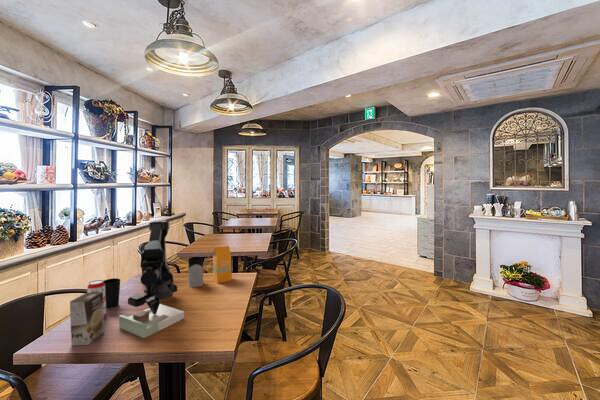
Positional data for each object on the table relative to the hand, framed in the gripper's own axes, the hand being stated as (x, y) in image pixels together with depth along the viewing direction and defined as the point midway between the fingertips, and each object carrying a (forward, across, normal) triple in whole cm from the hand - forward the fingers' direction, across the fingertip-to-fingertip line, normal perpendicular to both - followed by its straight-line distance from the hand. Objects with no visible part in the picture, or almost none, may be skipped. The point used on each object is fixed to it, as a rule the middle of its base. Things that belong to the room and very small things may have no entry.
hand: (154, 314), depth 120 cm
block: (0, -6, 0) cm, 6 cm away
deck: (+3, -1, 0) cm, 3 cm away
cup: (+4, 0, +32) cm, 32 cm away
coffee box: (+4, -20, +10) cm, 23 cm away
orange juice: (+4, +52, +12) cm, 53 cm away
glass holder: (+4, +41, +22) cm, 47 cm away
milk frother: (+4, +32, +42) cm, 53 cm away
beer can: (+4, -10, +24) cm, 26 cm away
